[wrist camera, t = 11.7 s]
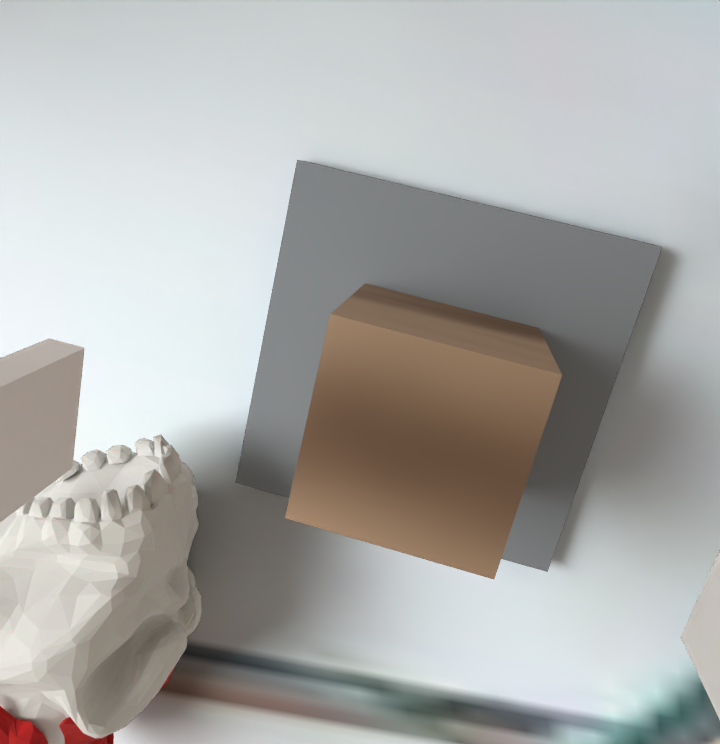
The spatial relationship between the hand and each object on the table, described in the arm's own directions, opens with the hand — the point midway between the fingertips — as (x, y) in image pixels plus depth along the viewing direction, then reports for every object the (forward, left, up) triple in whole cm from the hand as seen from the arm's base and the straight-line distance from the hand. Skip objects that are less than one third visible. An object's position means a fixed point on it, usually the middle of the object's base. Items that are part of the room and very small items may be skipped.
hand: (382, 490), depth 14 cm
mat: (0, 0, -11) cm, 11 cm away
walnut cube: (+1, 0, -11) cm, 10 cm away
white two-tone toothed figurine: (+12, -11, -12) cm, 20 cm away
